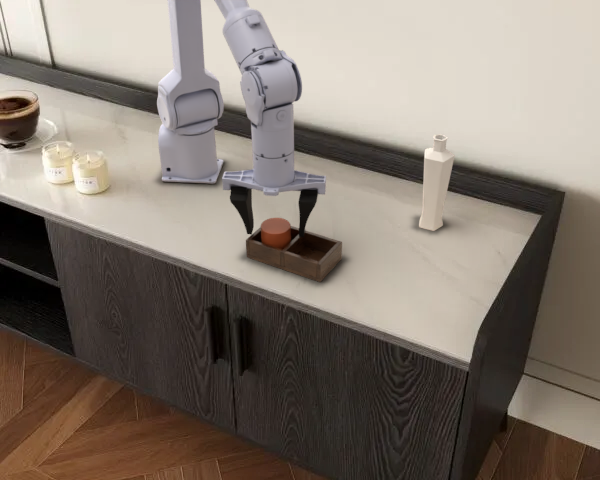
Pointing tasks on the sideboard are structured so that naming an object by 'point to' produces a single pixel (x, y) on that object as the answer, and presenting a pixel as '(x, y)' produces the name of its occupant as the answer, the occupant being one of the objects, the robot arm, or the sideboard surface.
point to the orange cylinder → (276, 232)
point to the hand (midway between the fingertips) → (276, 231)
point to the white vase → (435, 182)
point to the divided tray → (298, 254)
